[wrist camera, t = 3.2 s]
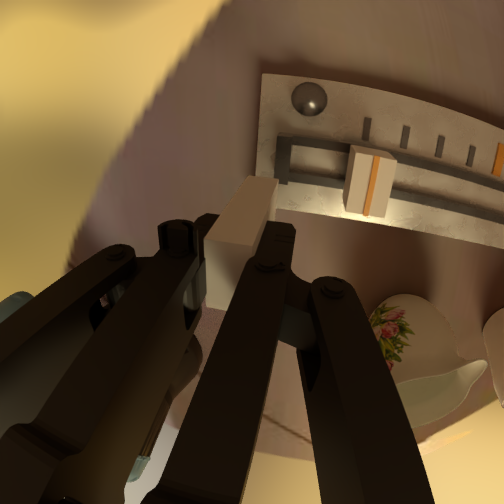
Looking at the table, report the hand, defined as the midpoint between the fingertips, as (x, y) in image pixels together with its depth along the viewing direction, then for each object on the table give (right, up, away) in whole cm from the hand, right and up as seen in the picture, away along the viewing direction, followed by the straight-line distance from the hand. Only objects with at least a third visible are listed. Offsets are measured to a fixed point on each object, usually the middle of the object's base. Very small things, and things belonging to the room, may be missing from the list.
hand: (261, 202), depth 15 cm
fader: (+9, +5, +9) cm, 14 cm away
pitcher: (+17, -11, +19) cm, 28 cm away
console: (+16, +6, +10) cm, 20 cm away
